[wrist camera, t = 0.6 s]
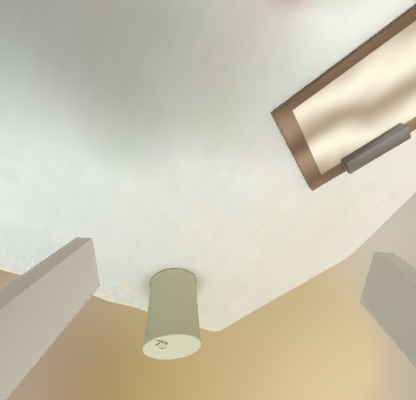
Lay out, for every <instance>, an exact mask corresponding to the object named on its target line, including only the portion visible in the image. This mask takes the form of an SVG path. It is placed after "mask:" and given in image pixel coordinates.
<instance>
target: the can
mask: <svg viewBox="0 0 416 400" xmlns="http://www.w3.org/2000/svg"><path fill="white" fill-rule="evenodd" d="M150 286H151V288H150V298H149V307H148V315H147V323H146V331H145V339H144V345H143V352H144V354H145V355H147V356H149V357H151V358H155V359H176V358H181V357H185V356H188V355H190V354H192V353H194V352H196V351H197V350H198V349H199V348H200V346H201V340H200V331H199V320H198V307H197V294H196V278H195V276H194V275H193V274H192V273H191V272H189V271H187V270H183V269H167V270H164V271H161V272H159V273H157V274H156V275H155V276H154V277H153V278H152V280H151V282H150Z"/></svg>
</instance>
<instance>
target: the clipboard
mask: <svg viewBox="0 0 416 400" xmlns="http://www.w3.org/2000/svg"><path fill="white" fill-rule="evenodd" d="M271 114H272V116H273V118H274V120H275V122H276V123H277V125H278V127H279V129H280V131H281V133H282V135H283V137H284V139H285V141H286V143H287V145H288V147H289V149H290V151H291V152H292V154H293V156H294V158H295V160H296V162H297V164H298V166H299V168H300V170H301V172H302V174H303V176H304V178H305V180H306V182H307V183H308V185H309V187H310V189H311V190H312V191H313V190H315V189H316V188H318V187H320V186H321V185H323V184H325V183H326V182H328V181H330V180H331V179H333V178H335V177H336V176H338V175H340V174H341V173H343V172H345V171H347V172H348V173H350V174H351V173H352V172H354V171H356V170H357V169H359V168H361V167H363V166H364V165H366V164H368V163H369V162H371V161H373V160H374V159H376V158H378V157H379V156H381V155H383V154H385V153H386V152H388V151H390V150H391V149H393V148H395V147H396V146H398V145H400V144H401V143H403V142H405V141H406V140H408V139H410V138H411V137H410V132H412V131H413V130H415V129H416V5H414V6H413V7H412V8H410V9H409V10H408V11H406V12H405V13H404V14H402V15H401V16H400V17H398V18H397V19H396V20H394V21H393V22H392V23H390V24H389V25H388V26H386V27H385V28H384V29H382V30H381V31H380V32H378V33H377V34H376V35H374V36H373V37H372V38H370V39H369V40H368V41H366V42H365V43H364V44H362V45H361V46H360V47H358V48H357V49H356V50H354V51H353V52H352V53H350V54H349V55H348V56H346V57H345V58H344V59H342V60H341V61H340V62H338V63H337V64H336V65H334V66H333V67H332V68H330V69H329V70H328V71H326V72H325V73H324V74H322V75H321V76H320V77H318V78H317V79H316V80H314V81H313V82H312V83H310V84H309V85H308V86H306V87H305V88H304V89H302V90H301V91H300V92H298V93H297V94H296V95H294V96H293V97H292V98H290V99H289V100H288V101H286V102H285V103H284V104H282V105H281V106H280V107H278V108H277V109H276V110H274V111H273V112H272V113H271Z"/></svg>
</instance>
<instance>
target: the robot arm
mask: <svg viewBox="0 0 416 400" xmlns="http://www.w3.org/2000/svg"><path fill="white" fill-rule="evenodd" d="M99 286H100V284H99V278H98V271H97V265H96V259H95V253H94V247H93V241H92V238H75V239H74V240H73V241H71V242H70V243H68V244H67V245H65V246H64V247H62V248H61V249H59V250H58V251H57V252H55V253H54V254H52V255H51V256H49V257H48V258H46V259H45V260H43V261H42V262H40V263H39V264H38V265H36V266H35V267H33V268H32V269H30V270H29V271H27V272H26V273H24V274H23V275H22V276H20V277H19V278H17V279H16V280H14V281H13V282H11V283H10V284H8V285H7V286H6V287H4V288H3V289H1V290H0V400H6V399H7V398H8V396H9V395H10V394H11V393H12V392H13V390H14V389H15V388H16V387H17V385H18V384H19V383H20V382H21V381H22V379H23V378H24V377H25V376H26V375H27V373H28V372H29V371H30V370H31V369H32V367H33V366H34V365H35V364H36V362H37V361H38V360H39V359H40V358H41V356H42V355H43V354H44V352H46V350H47V349H48V348H49V347H50V345H51V344H52V343H53V342H54V341H55V339H56V338H57V337H58V336H59V334H60V333H61V332H62V331H63V330H64V328H65V327H66V326H67V325H68V324H69V322H70V321H71V320H72V319H73V318H74V316H75V315H76V314H77V313H78V312H79V310H80V309H81V308H82V307H83V305H84V304H85V303H86V302H87V301H88V299H89V298H90V297H91V296H92V295H93V293H94V292H95V291H96V290H97V289H98V287H99ZM360 302H361V304H362V305H363V306H364V307H365V308H366V309H367V311H368V312H369V313H370V314H371V315H372V317H373V318H374V319H375V320H376V321H377V322H378V324H379V325H380V326H381V327H382V328H383V329H384V331H385V332H386V333H387V334H388V335H389V337H390V338H391V339H392V340H393V341H394V342H395V344H396V345H397V346H398V347H399V348H400V350H401V351H402V352H403V353H404V354H405V355H406V357H407V358H408V359H409V360H410V361H411V363H412V364H413V365H414V366H415V367H416V268H414V267H413V266H411V265H410V264H408V263H407V262H405V261H404V260H402V259H401V258H399V257H398V256H396V255H395V254H393V253H384V252H374V255H373V259H372V262H371V266H370V269H369V273H368V276H367V279H366V283H365V286H364V289H363V293H362V296H361V300H360Z"/></svg>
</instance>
